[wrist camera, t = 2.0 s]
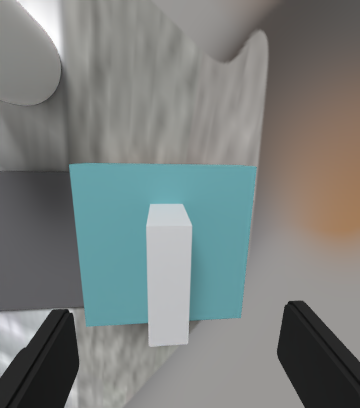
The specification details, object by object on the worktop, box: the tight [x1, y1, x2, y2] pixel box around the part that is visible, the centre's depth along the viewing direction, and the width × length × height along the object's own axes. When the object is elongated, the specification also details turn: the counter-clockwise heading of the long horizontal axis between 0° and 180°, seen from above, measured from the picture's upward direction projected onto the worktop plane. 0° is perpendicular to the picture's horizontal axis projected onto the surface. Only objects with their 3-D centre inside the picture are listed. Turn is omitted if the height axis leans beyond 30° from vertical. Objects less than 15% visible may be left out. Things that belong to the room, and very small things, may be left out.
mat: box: [0, 171, 84, 311], centre depth 25 cm, size 17×17×1 cm
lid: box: [69, 163, 257, 347], centre depth 16 cm, size 14×14×8 cm
